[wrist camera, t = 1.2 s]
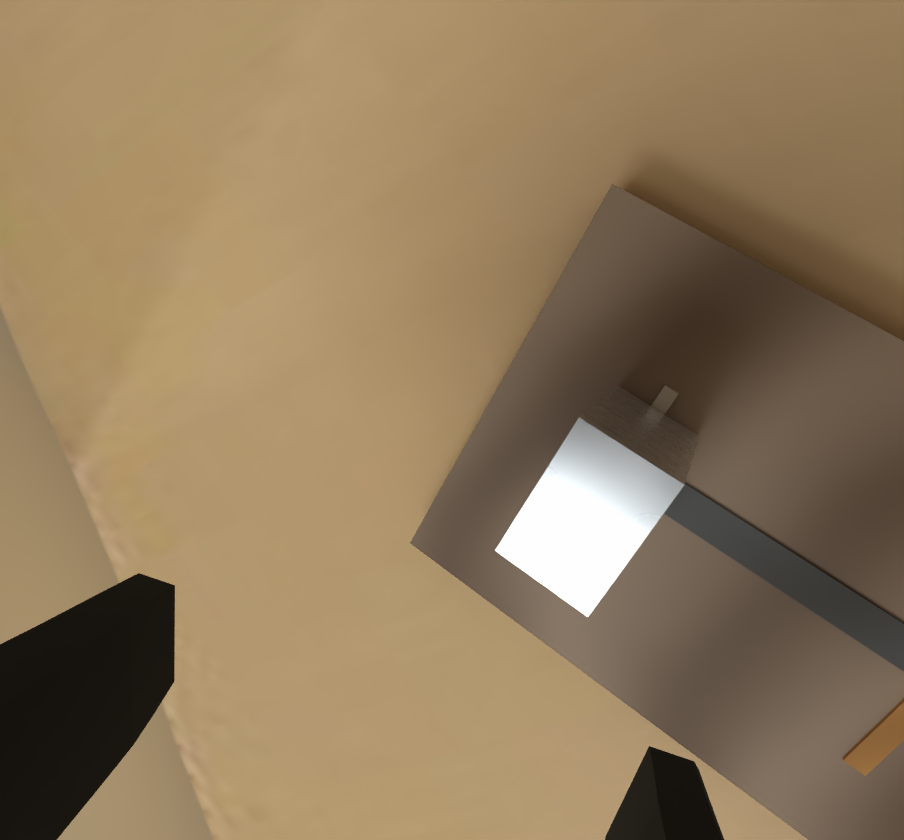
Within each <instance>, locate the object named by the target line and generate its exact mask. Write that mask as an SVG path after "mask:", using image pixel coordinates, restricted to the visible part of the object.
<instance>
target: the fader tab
mask: <svg viewBox="0 0 904 840" xmlns="http://www.w3.org/2000/svg"><path fill="white" fill-rule="evenodd" d="M698 440H699V436H698V435H697V434H695V433H693V432H692V431H690V430H688V429H687V428H685V427H684V426H682V425H680V424H679V423H677V422H676V421H674V420H672V419H671V418H669V417H667V416H666V415H664V414H663V413H661V412H659V411H658V410H656V409H655V408H653V407H651V406H650V405H648V404H646V403H645V402H643V401H642V400H640V399H638V398H637V397H635V396H634V395H632V394H630V393H629V392H627V391H625V390H624V389H622V388H621V387H619V386H616V387H615V388H613V389H612V390H611V391H610V392H609V393H607V394H606V395H605V396H604V397H603V398H601V399H600V400H599V401H598V402H597V403H595V404H594V405H593V406H592V407H591V408H590V409H588V410H587V411H586V412H585V413H584V414H582V415H581V416H580V417H579V418H578V420H577V421H576V423H575V424H574V426H573V428H572V429H571V431H570V432H569V434H568V436H567V437H566V439H565V440H564V442H563V444H562V445H561V447H560V448H559V450H558V451H557V453H556V455H555V456H554V458H553V459H552V461H551V463H550V464H549V466H548V467H547V469H546V471H545V472H544V474H543V475H542V477H541V479H540V480H539V482H538V483H537V485H536V486H535V488H534V490H533V491H532V493H531V494H530V496H529V498H528V499H527V501H526V502H525V504H524V506H523V507H522V509H521V510H520V512H519V513H518V515H517V517H516V518H515V520H514V521H513V523H512V525H511V526H510V528H509V529H508V531H507V533H506V534H505V536H504V537H503V539H502V541H501V542H500V544H499V545H498V547H497V548H496V550H495V551H497V552H498V553H499V554H501V555H502V556H504V557H505V558H506V559H508V560H509V561H511V562H512V563H513V564H515V565H516V566H517V567H519V568H520V569H522V570H523V571H524V572H526V573H527V574H529V575H530V576H531V577H533V578H534V579H536V580H537V581H538V582H540V583H541V584H542V585H544V586H545V587H547V588H548V589H549V590H551V591H552V592H554V593H555V594H556V595H558V596H559V597H560V598H562V599H563V600H565V601H566V602H567V603H569V604H570V605H572V606H573V607H574V608H576V609H577V610H579V611H580V612H581V613H583V614H584V615H585V616H587V617H588V616H589V615H590V613H591V612H592V611H593V609H594V608H595V607H596V605H597V604H598V602H599V601H600V600H601V598H602V597H603V596H604V594H605V593H606V592H607V590H608V589H609V587H610V586H611V585H612V583H613V582H614V581H615V579H616V578H617V577H618V575H619V574H620V572H621V571H622V570H623V568H624V567H625V566H626V564H627V563H628V561H629V560H630V559H631V557H632V556H633V555H634V553H635V552H636V551H637V549H638V548H639V546H640V545H641V544H642V542H643V541H644V540H645V538H646V537H647V536H648V534H649V533H650V531H651V530H652V529H653V527H654V526H655V525H656V523H657V522H658V520H659V519H660V518H661V516H662V515H663V514H664V512H665V511H666V510H667V508H668V507H669V505H670V504H671V503H672V501H673V500H674V499H675V497H676V496H677V495H678V493H679V492H680V490H681V489H682V488H683V486H684V485H685V482H686V479H687V475H688V472H689V469H690V466H691V462H692V459H693V456H694V453H695V449H696V446H697V443H698Z"/></svg>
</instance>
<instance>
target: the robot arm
mask: <svg viewBox="0 0 904 840" xmlns="http://www.w3.org/2000/svg"><path fill="white" fill-rule="evenodd" d="M174 627H175V585H172V584H169V583H166V582H163V581H160V580H157V579H154V578H151V577H148V576H145V575H142V574H137V575H135V576H133V577H131V578H129V579H127V580H125V581H123V582H121V583H119V584H117V585H115V586H113V587H111V588H109V589H107V590H106V591H103V592H101V593H99V594H97V595H95V596H94V597H92V598H90V599H88V600H86V601H84V602H82V603H80V604H78V605H76V606H75V607H72V608H71V609H69V610H67V611H65V612H63V613H61V614H59V615H57V616H55V617H53V618H51V619H50V620H48V621H46V622H44V623H42V624H40V625H38V626H36V627H34V628H32V629H30V630H28V631H26V632H24V633H22V634H20V635H18V636H16V637H14V638H12V639H10V640H8V641H6V642H4V643H2V644H0V840H57V838H58V837H59V836H60V835H61V834H62V832H63V831H64V830H65V829H66V827H67V826H68V825H69V824H70V822H71V821H72V820H73V819H74V817H75V816H76V815H77V814H78V812H80V810H81V809H82V808H83V807H84V805H85V804H86V803H87V802H88V801H89V799H90V798H91V797H92V796H93V794H94V793H95V792H96V791H97V789H98V788H99V787H100V786H101V785H102V783H103V782H104V781H105V779H106V778H107V777H108V776H109V775H110V773H111V772H112V771H113V770H114V768H115V767H116V766H117V765H118V763H119V762H120V761H121V760H122V758H123V757H124V756H125V755H126V753H127V752H128V751H129V750H130V748H131V747H132V746H133V745H134V743H135V742H136V740H137V739H138V737H139V736H140V734H141V732H142V731H143V730H144V728H145V727H146V725H147V723H148V722H149V721H150V719H151V717H152V716H153V714H154V713H155V711H156V710H157V708H158V706H159V705H160V703H161V702H162V700H163V698H164V697H165V695H166V694H167V692H168V690H169V689H170V687H171V686H172V684H173V683H174ZM605 840H724V838H723V835H722V833H721V830H720V827H719V825H718V822H717V819H716V816H715V814H714V811H713V808H712V805H711V803H710V800H709V797H708V794H707V792H706V789H705V786H704V783H703V780H702V777H701V775H700V772H699V769H698V768H697V766H696V764H695V762H694V761H691V760H688V759H685V758H682V757H679V756H676V755H673V754H670V753H667V752H664V751H662V750H659V749H656V748H653V747H650V746H649V748H648V750H647V752H646V754H645V756H644V758H643V760H642V762H641V764H640V766H639V768H638V771H637V773H636V775H635V777H634V779H633V781H632V783H631V785H630V787H629V789H628V791H627V793H626V795H625V798H624V800H623V802H622V804H621V806H620V808H619V810H618V812H617V814H616V816H615V818H614V820H613V822H612V824H611V827H610V829H609V831H608V833H607V835H606V838H605Z"/></svg>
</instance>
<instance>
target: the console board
mask: <svg viewBox="0 0 904 840" xmlns="http://www.w3.org/2000/svg"><path fill="white" fill-rule="evenodd" d="M616 386H619V387H621V388H622V389H624V390H625V391H627V392H629V393H630V394H632V395H634V396H635V397H637V398H638V399H640V400H642V401H643V402H645V403H646V404H648V405H650V406H651V407H653V408H655V409H656V410H658V411H659V412H661V413H663V414H664V415H666V416H667V417H669V418H671V419H672V420H674V421H676V422H677V423H679V424H680V425H682V426H684V427H685V428H687V429H688V430H690V431H692V432H693V433H695V434H697V435H698V436H699V440H698V443H697V446H696V449H695V453H694V456H693V459H692V462H691V466H690V469H689V472H688V475H687V479H686V482H685V485H684V486H683V488H682V489H681V490H680V492H679V493H678V495H677V496H676V497H675V499H674V500H673V501H672V503H671V504H670V505H669V507H668V508H667V510H666V511H665V512H664V514H663V515H662V516H661V518H660V519H659V520H658V522H657V523H656V525H655V526H654V527H653V529H652V530H651V531H650V533H649V534H648V536H647V537H646V538H645V540H644V541H643V542H642V544H641V545H640V546H639V548H638V549H637V551H636V552H635V553H634V555H633V556H632V557H631V559H630V560H629V561H628V563H627V564H626V566H625V567H624V568H623V570H622V571H621V572H620V574H619V575H618V577H617V578H616V579H615V581H614V582H613V583H612V585H611V586H610V587H609V589H608V590H607V592H606V593H605V594H604V596H603V597H602V598H601V600H600V601H599V602H598V604H597V605H596V607H595V608H594V609H593V611H592V612H591V613H590V615H589V616H588V617H587V616H585V615H584V614H583V613H581V612H580V611H579V610H577V609H576V608H574V607H573V606H572V605H570V604H569V603H567V602H566V601H565V600H563V599H562V598H560V597H559V596H558V595H556V594H555V593H554V592H552V591H551V590H549V589H548V588H547V587H545V586H544V585H542V584H541V583H540V582H538V581H537V580H536V579H534V578H533V577H531V576H530V575H529V574H527V573H526V572H524V571H523V570H522V569H520V568H519V567H517V566H516V565H515V564H513V563H512V562H511V561H509V560H508V559H506V558H505V557H504V556H502V555H501V554H499V553H498V552H497V551H495V550H496V548H497V547H498V545H499V544H500V542H501V541H502V539H503V537H504V536H505V534H506V533H507V531H508V529H509V528H510V526H511V525H512V523H513V521H514V520H515V518H516V517H517V515H518V513H519V512H520V510H521V509H522V507H523V506H524V504H525V502H526V501H527V499H528V498H529V496H530V494H531V493H532V491H533V490H534V488H535V486H536V485H537V483H538V482H539V480H540V479H541V477H542V475H543V474H544V472H545V471H546V469H547V467H548V466H549V464H550V463H551V461H552V459H553V458H554V456H555V455H556V453H557V451H558V450H559V448H560V447H561V445H562V444H563V442H564V440H565V439H566V437H567V436H568V434H569V432H570V431H571V429H572V428H573V426H574V424H575V423H576V421H577V420H578V418H579V417H580V416H581V415H582V414H584V413H585V412H586V411H587V410H588V409H590V408H591V407H592V406H593V405H594V404H595V403H597V402H598V401H599V400H600V399H601V398H603V397H604V396H605V395H606V394H607V393H609V392H610V391H611V390H612V389H613V388H615V387H616ZM410 543H411V544H412V545H413V546H415V547H416V548H417V549H419V550H420V551H421V552H423V553H424V554H426V555H427V556H428V557H430V558H431V559H432V560H434V561H435V562H436V563H438V564H439V565H440V566H442V567H443V568H444V569H446V570H447V571H448V572H450V573H451V574H452V575H454V576H455V577H456V578H458V579H459V580H460V581H462V582H463V583H464V584H466V585H467V586H469V587H470V588H471V589H473V590H474V591H475V592H477V593H478V594H479V595H481V596H482V597H483V598H485V599H486V600H487V601H489V602H490V603H491V604H493V605H494V606H495V607H497V608H498V609H499V610H501V611H502V612H503V613H505V614H506V615H507V616H509V617H510V618H512V619H513V620H514V621H516V622H517V623H518V624H520V625H521V626H522V627H524V628H525V629H526V630H528V631H529V632H530V633H532V634H533V635H534V636H536V637H537V638H538V639H540V640H541V641H542V642H544V643H545V644H546V645H548V646H549V647H550V648H552V649H553V650H554V651H556V652H557V653H559V654H560V655H561V656H563V657H564V658H565V659H567V660H568V661H569V662H571V663H572V664H573V665H575V666H576V667H577V668H579V669H580V670H581V671H583V672H584V673H585V674H587V675H588V676H589V677H591V678H592V679H593V680H595V681H596V682H597V683H599V684H600V685H602V686H603V687H604V688H606V689H607V690H608V691H610V692H611V693H612V694H614V695H615V696H616V697H618V698H619V699H620V700H622V701H623V702H624V703H626V704H627V705H628V706H630V707H631V708H632V709H634V710H635V711H636V712H638V713H639V714H640V715H642V716H643V717H645V718H646V719H647V720H649V721H650V722H651V723H653V724H654V725H655V726H657V727H658V728H659V729H661V730H662V731H663V732H665V733H666V734H667V735H669V736H670V737H671V738H673V739H674V740H675V741H677V742H678V743H679V744H681V745H682V746H683V747H685V748H686V749H687V750H689V751H690V752H692V753H693V754H694V755H696V756H697V757H698V758H700V759H701V760H702V761H704V762H705V763H706V764H708V765H709V766H710V767H712V768H713V769H714V770H716V771H717V772H718V773H720V774H721V775H722V776H724V777H725V778H726V779H728V780H729V781H730V782H732V783H733V784H735V785H736V786H737V787H739V788H740V789H741V790H743V791H744V792H745V793H747V794H748V795H749V796H751V797H752V798H753V799H755V800H756V801H757V802H759V803H760V804H761V805H763V806H764V807H765V808H767V809H768V810H769V811H771V812H772V813H773V814H775V815H776V816H777V817H779V818H780V819H782V820H783V821H784V822H786V823H787V824H788V825H790V826H791V827H792V828H794V829H795V830H796V831H798V832H799V833H800V834H802V835H803V836H804V837H806V838H807V839H808V840H904V341H903V340H901V339H899V338H897V337H895V336H894V335H892V334H890V333H888V332H886V331H884V330H882V329H881V328H879V327H877V326H875V325H873V324H871V323H869V322H868V321H866V320H864V319H862V318H860V317H858V316H857V315H855V314H853V313H851V312H849V311H847V310H845V309H844V308H842V307H840V306H838V305H836V304H834V303H832V302H831V301H829V300H827V299H825V298H823V297H821V296H819V295H818V294H816V293H814V292H812V291H810V290H808V289H806V288H805V287H803V286H801V285H799V284H797V283H795V282H793V281H792V280H790V279H788V278H786V277H784V276H782V275H780V274H779V273H777V272H775V271H773V270H771V269H769V268H767V267H766V266H764V265H762V264H760V263H758V262H756V261H754V260H753V259H751V258H749V257H747V256H745V255H743V254H741V253H740V252H738V251H736V250H734V249H732V248H730V247H729V246H727V245H725V244H723V243H721V242H719V241H717V240H716V239H714V238H712V237H710V236H708V235H706V234H704V233H703V232H701V231H699V230H697V229H695V228H693V227H691V226H690V225H688V224H686V223H684V222H682V221H680V220H678V219H677V218H675V217H673V216H671V215H669V214H667V213H665V212H664V211H662V210H660V209H658V208H656V207H654V206H652V205H651V204H649V203H647V202H645V201H643V200H641V199H639V198H638V197H636V196H634V195H632V194H630V193H628V192H626V191H625V190H623V189H621V188H619V187H617V186H615V185H613V184H612V186H611V188H610V190H609V191H608V193H607V195H606V197H605V199H604V200H603V202H602V204H601V206H600V207H599V209H598V211H597V213H596V214H595V216H594V218H593V220H592V222H591V223H590V225H589V227H588V229H587V230H586V232H585V234H584V236H583V238H582V239H581V241H580V243H579V245H578V246H577V248H576V250H575V252H574V253H573V255H572V257H571V259H570V261H569V262H568V264H567V266H566V268H565V269H564V271H563V273H562V275H561V276H560V278H559V280H558V282H557V284H556V285H555V287H554V289H553V291H552V292H551V294H550V296H549V298H548V300H547V301H546V303H545V305H544V307H543V308H542V310H541V312H540V314H539V315H538V317H537V319H536V321H535V323H534V324H533V326H532V328H531V330H530V331H529V333H528V335H527V337H526V339H525V340H524V342H523V344H522V346H521V347H520V349H519V351H518V353H517V354H516V356H515V358H514V360H513V362H512V363H511V365H510V367H509V369H508V370H507V372H506V374H505V376H504V378H503V379H502V381H501V383H500V385H499V386H498V388H497V390H496V392H495V393H494V395H493V397H492V399H491V401H490V402H489V404H488V406H487V408H486V409H485V411H484V413H483V415H482V417H481V418H480V420H479V422H478V424H477V425H476V427H475V429H474V431H473V432H472V434H471V436H470V438H469V440H468V441H467V443H466V445H465V447H464V448H463V450H462V452H461V454H460V456H459V457H458V459H457V461H456V463H455V464H454V466H453V468H452V470H451V471H450V473H449V475H448V477H447V479H446V480H445V482H444V484H443V486H442V487H441V489H440V491H439V493H438V495H437V496H436V498H435V500H434V502H433V503H432V505H431V507H430V509H429V510H428V512H427V514H426V516H425V518H424V519H423V521H422V523H421V525H420V526H419V528H418V530H417V532H416V534H415V535H414V537H413V539H412V541H411V542H410Z"/></svg>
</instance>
